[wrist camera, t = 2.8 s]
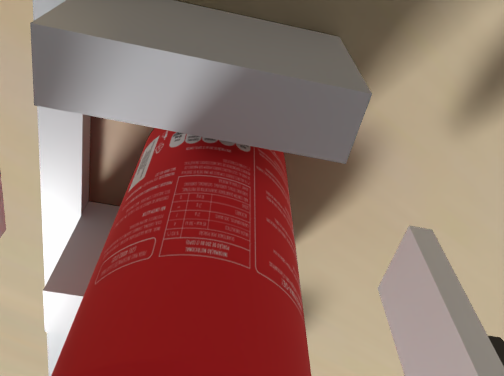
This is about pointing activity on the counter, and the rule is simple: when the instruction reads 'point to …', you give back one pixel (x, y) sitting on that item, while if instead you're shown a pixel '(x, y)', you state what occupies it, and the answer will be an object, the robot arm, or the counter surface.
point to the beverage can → (195, 270)
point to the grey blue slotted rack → (169, 107)
